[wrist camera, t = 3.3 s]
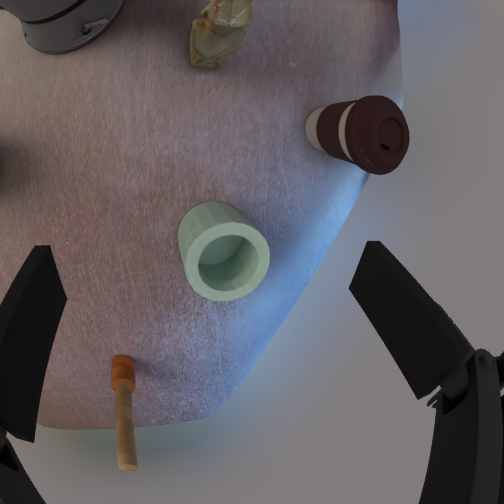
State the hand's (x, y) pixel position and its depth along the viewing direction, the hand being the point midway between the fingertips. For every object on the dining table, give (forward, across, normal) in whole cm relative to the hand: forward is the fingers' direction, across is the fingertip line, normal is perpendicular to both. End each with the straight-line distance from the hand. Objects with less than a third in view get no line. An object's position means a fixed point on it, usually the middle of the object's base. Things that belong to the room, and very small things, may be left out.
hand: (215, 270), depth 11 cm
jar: (+27, +3, -15) cm, 31 cm away
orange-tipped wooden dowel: (+22, -14, -38) cm, 46 cm away
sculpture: (+32, 0, +12) cm, 34 cm away
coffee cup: (+32, +20, +2) cm, 38 cm away
